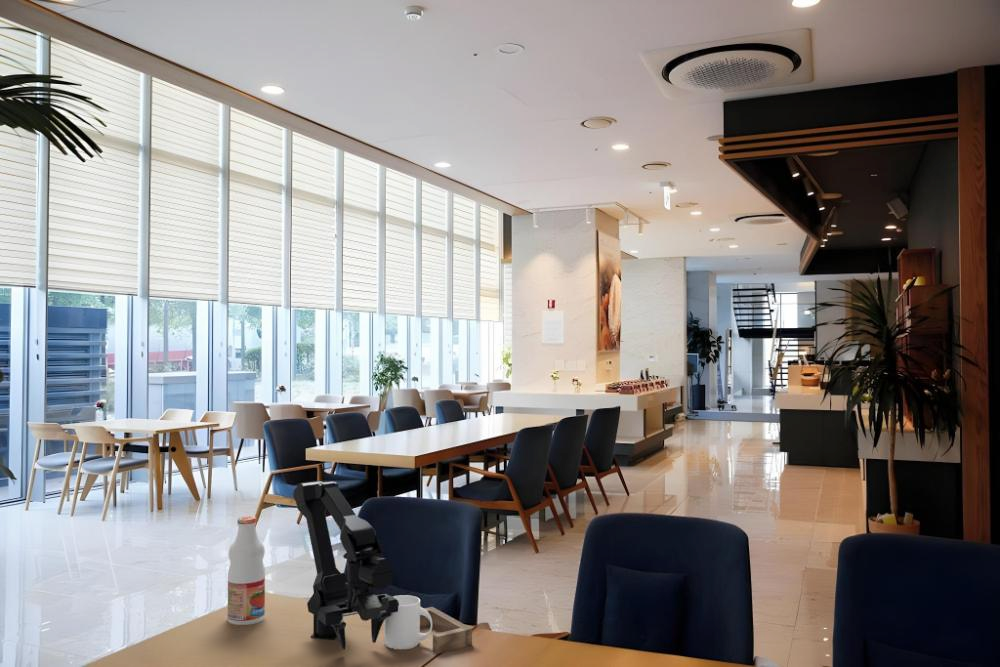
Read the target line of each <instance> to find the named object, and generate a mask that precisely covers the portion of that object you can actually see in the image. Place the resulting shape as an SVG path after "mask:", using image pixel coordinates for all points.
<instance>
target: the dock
mask: <svg viewBox="0 0 1000 667" xmlns="http://www.w3.org/2000/svg"><path fill="white" fill-rule="evenodd" d="M424 609H425V610H426V611H427V612H428V613H429V614H430V616H431V618H432V629H434V630H436V631H438V633H434V634H432V652H433V653H435V654H441V653H446V652H449V651H455V650H458V649H462V648H465V647H470V646H473V628H472V627H470V626H468V625H466V624H464V623H462V622H461V621H459V620H457V619H455V618H454V617H452V616H450V615H448V614H446V613H445V612H442V611H441V610H440V609H437V608H436V607H433V606H430V607H426V608H425V607H424ZM427 626H430V627H431V623H430V621H429V619H428V618H427V617H426V616H423V615H420V628H421V627H427Z"/></svg>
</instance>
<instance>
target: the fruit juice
mask: <svg viewBox="0 0 1000 667" xmlns="http://www.w3.org/2000/svg"><path fill="white" fill-rule="evenodd" d="M257 522H258V519H257V517H256V516H242V517H238V518H237V522H236V523H237V526H238V530H237V534H236V537H235V540H234V541H233V542H232V544H231V545H230V546H229V549H228V558H229V561H230V565H229V568H228V570H227V571H228V572H227V620H226V621H227V622H228V623H229V624H231V625H236V626H239V625H240V626H241V625H242V626H243V625H244V626H246V625H253V624H257V623H261V622H263V621H264V619H266V618H265V614H266V613H265V612H266V611H265V608H266V607H265V606H266V605H265V604H266V602H265V601H266V600H265V599H266V594H265V593H266V568H265V565H264V561H263V560H264V557H265V550H266V549H265V545H264V544H263V542H262V541H261V540H260V539H259V535H258V533H257V529H256V525H257Z"/></svg>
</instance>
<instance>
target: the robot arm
mask: <svg viewBox="0 0 1000 667" xmlns="http://www.w3.org/2000/svg"><path fill="white" fill-rule="evenodd" d="M293 500H294V501H295V504H296V507H297V510H298V511H299V512H300V513H301V514H302V516H303V517H305V520H306V524H307V529H308V534H309V535H308V536H309V540H310V545H311V549H312V554H313V559H314V565H315V570H316V576H315V579H314V582H313V584H312V585H313V586H312V589H313V594H312V595H311V597H310V598H309V600H308V601H307V603H306V606H307V611H308V613H310V614H312V615H313V620H312V621H313V624H312V625H313V627H312V629H313V631H312V634H311V635H310V638H311V639H319V638H320V639H321V640H331V641H332V640H334V641H335V640H336V639H337V640H338V642H339V645H340V646H341V649H342V650H344V651H345V650H346V632H345V631H346V630H345V629H346V626H347V622H345V621H344V617H348V616H352V615H353V616H355V615H358V616H359V619H360V620H361V621H363V622H367V621H369V620H370V626H371V629H370V630H371V631H370V632H371V641H372V644H375V643H376V642H377V639H378V637H379V635H380V631H381V628H382V626H383V624H384V623H385V619H386V618H387V617H389V616H391V613H393V612H398V606H399V602H398V600H397V599H395V598H394V597H393V596H391V595H390V594H387V593H383V594H377V595H376V594H375V589H378V590H385V589H386V588H388V587H389V586H390V585H391V584H392V581H393V579H394V572H393V569H392V566H390V565H389V564H387V561H386V558H384V551H383V549H384V547H383V546H382V544H381V542H380V540H379V538H378V534H377V532H376V530H375V529H374V527H373V526H372V525H371V524H370V523H369V522H368V521H367V520H365V519H363V518H361V517H358V515H357V514H356V513H355V511H354V510H353V508H352V507H351V505H350V504H349V502H348V501H347V500H346V498H345V496H344V495H343V493H342V492H341V490H340V489H339V485H338V482H336V481H324V482H323V481H322V480H319V481H318V480H317V481H310V482H301V483H298V484H297V485H296V487H295V488H294V489H293ZM326 511H328V513H329V514H330V516H331V517H332V519H333V521H334V522H335V523H336V525H337V527H338V529H339V530H340V535H339V540H340V542H341V545H342V548H343V549H344V551H345V552H346V553H344V554H343V556H342V557H343V558H344V559H346V560H347V561H346V565H347V566H346V567H347V568H346V569H347V570H346V573H345V572H341V571H340V570H339V569H338V568H337V565H336V560H335V556H334V551H333V545H332V542H331V541H332V540H331V536H330V531H329V525H328V521H327V517H326Z"/></svg>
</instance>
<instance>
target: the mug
mask: <svg viewBox="0 0 1000 667" xmlns="http://www.w3.org/2000/svg"><path fill="white" fill-rule="evenodd" d="M392 597H394V598H395V599H397V600H398V602H399V606H398V612H393V613H391V616H389V617H387V618H386V619H385V620H384V645H385V646H386V647H387V648H389V649H392V648H393V649H392V650H398V649H399V650H400V651H401V649H402V650H403V649H404V650H409V649H413V648H415V647H417V646H418V645H419V643H420V641H424V640H426V639H427V638H429V636H430V635H431V634H432V630H433V627H432V618H431V616H430V614H429V613H428V612H427V611H426V610H425V609H424V608H425V607H424V608H423V607H422V606H421V599H420V598H419V597H417V596H414V595H407V594H405V595H402V594H400V595H394V596H392ZM420 615H423V616H426V617H427V618H428V619H429V621H430V623H431V626H430V628H429V630H428V631H427V632H425V633H423V632H421V630H420V629H421V627H420Z"/></svg>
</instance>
